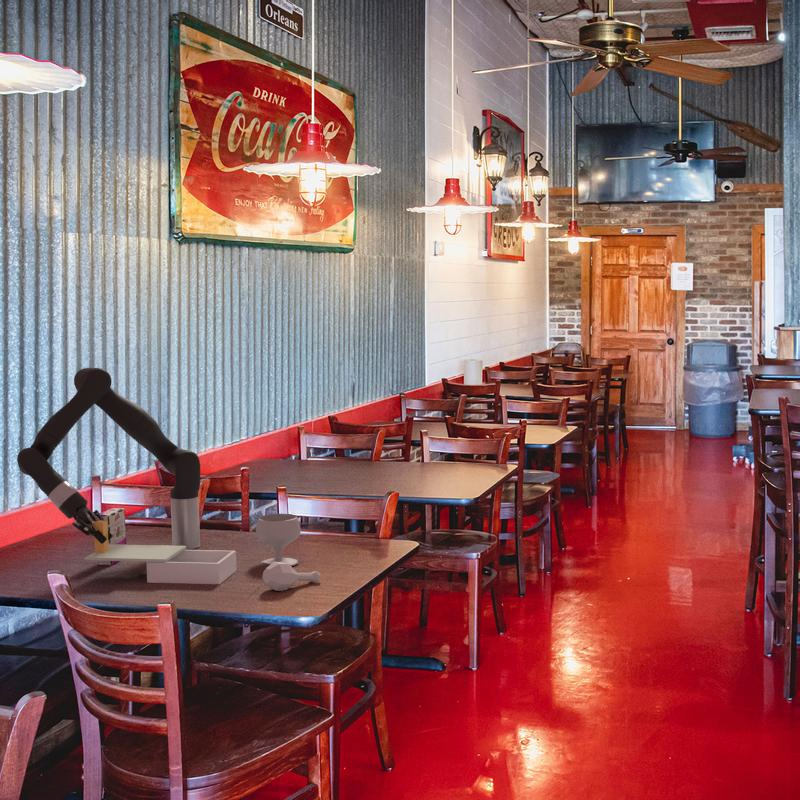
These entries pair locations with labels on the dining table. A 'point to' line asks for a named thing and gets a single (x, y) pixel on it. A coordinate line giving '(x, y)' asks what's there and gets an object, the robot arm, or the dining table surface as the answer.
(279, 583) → the chicken leg
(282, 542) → the chalice
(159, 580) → the tub
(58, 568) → the dining table surface
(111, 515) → the candy bar box
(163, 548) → the lid
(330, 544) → the dining table surface
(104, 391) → the robot arm
